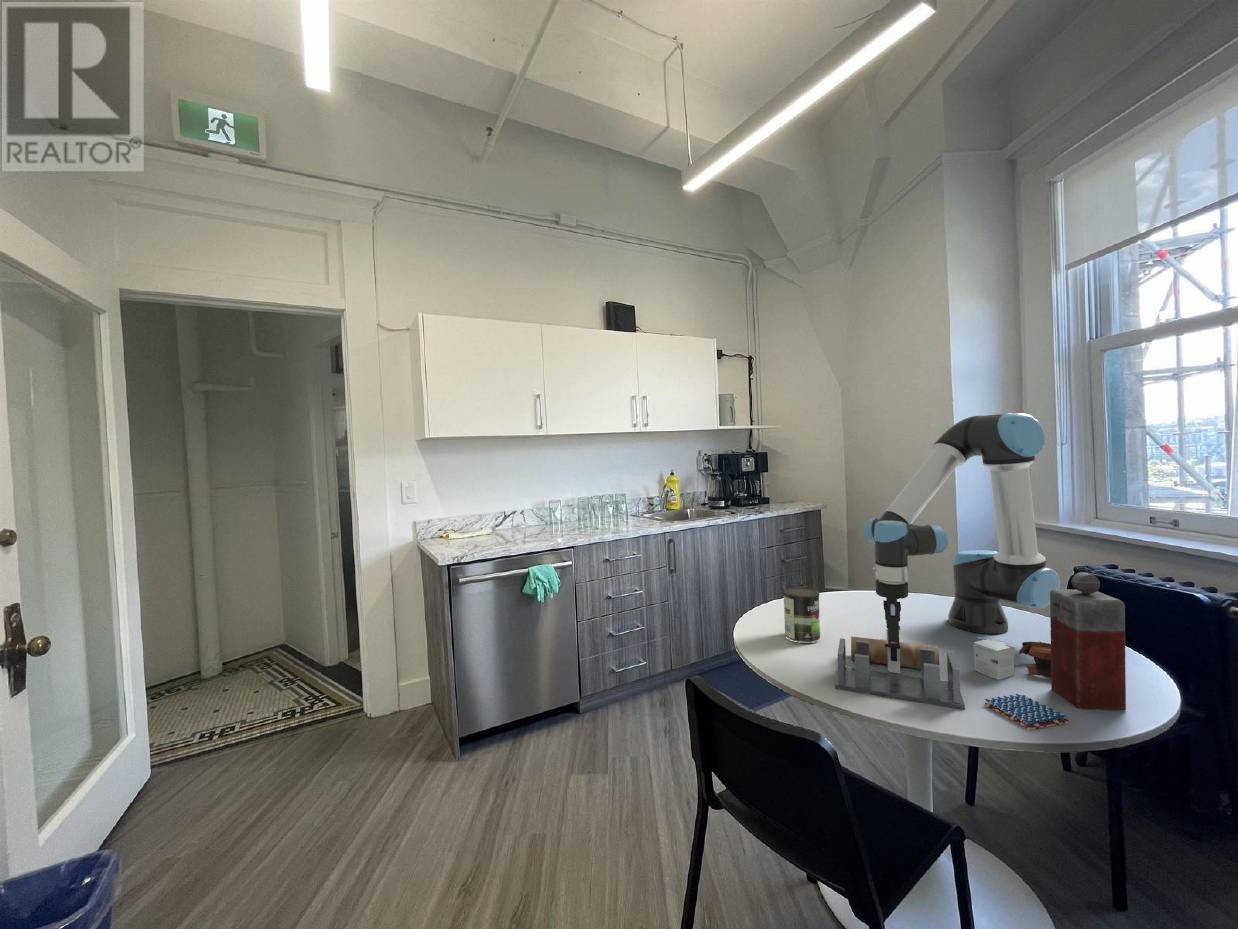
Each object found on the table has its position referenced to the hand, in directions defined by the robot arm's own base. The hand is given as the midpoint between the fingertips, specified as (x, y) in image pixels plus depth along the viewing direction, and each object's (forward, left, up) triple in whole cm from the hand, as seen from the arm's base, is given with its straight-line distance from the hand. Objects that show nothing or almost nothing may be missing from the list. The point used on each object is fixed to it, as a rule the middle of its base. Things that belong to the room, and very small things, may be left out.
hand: (893, 662), depth 134 cm
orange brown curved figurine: (-34, -8, -1) cm, 35 cm away
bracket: (0, +14, 0) cm, 15 cm away
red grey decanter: (-37, +4, 0) cm, 37 cm away
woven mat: (-24, +17, -1) cm, 30 cm away
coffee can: (+24, -11, 0) cm, 26 cm away
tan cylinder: (0, 0, 0) cm, 0 cm away
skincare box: (-22, -3, -1) cm, 22 cm away
